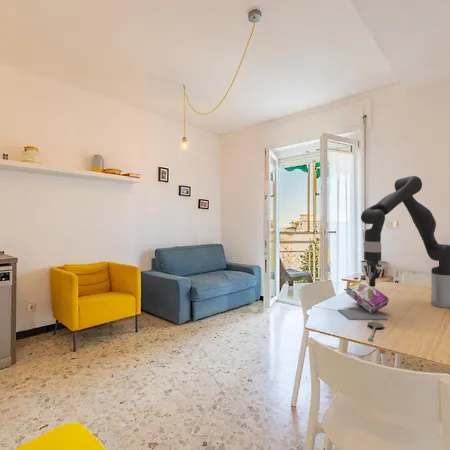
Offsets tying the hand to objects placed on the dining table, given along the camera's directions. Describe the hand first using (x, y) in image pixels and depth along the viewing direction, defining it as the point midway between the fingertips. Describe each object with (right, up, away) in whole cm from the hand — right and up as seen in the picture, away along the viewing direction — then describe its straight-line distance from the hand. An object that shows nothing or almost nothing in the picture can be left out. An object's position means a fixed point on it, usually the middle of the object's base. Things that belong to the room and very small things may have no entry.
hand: (372, 286), depth 142 cm
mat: (-5, -14, 0) cm, 15 cm away
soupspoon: (-10, -15, -22) cm, 28 cm away
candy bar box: (+5, -10, +1) cm, 11 cm away
